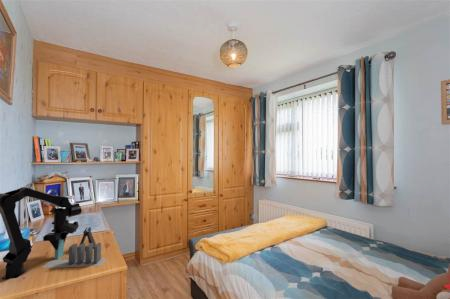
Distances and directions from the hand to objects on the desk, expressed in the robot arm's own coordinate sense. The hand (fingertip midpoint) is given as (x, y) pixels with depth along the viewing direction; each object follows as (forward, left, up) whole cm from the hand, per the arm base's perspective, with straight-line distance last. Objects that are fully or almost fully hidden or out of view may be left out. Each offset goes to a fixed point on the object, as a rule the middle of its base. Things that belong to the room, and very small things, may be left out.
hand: (59, 247), depth 126 cm
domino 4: (-7, -18, -5) cm, 20 cm away
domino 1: (0, 0, -6) cm, 6 cm away
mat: (-7, -12, -6) cm, 15 cm away
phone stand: (+12, -9, -6) cm, 16 cm away
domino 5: (-7, -22, -5) cm, 24 cm away
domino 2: (-7, -10, -5) cm, 14 cm away
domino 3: (-7, -14, -5) cm, 17 cm away
